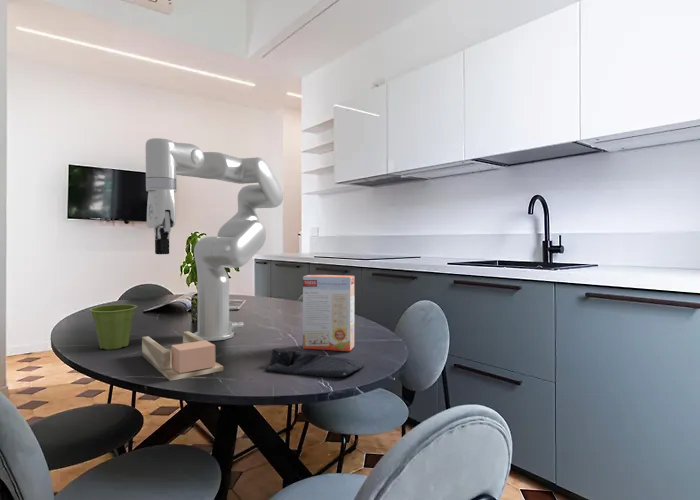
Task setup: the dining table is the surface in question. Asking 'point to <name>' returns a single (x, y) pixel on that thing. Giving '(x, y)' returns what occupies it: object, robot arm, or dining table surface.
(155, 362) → the chute
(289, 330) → the dining table surface
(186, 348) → the block
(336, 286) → the cracker box
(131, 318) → the plant pot
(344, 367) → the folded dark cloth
